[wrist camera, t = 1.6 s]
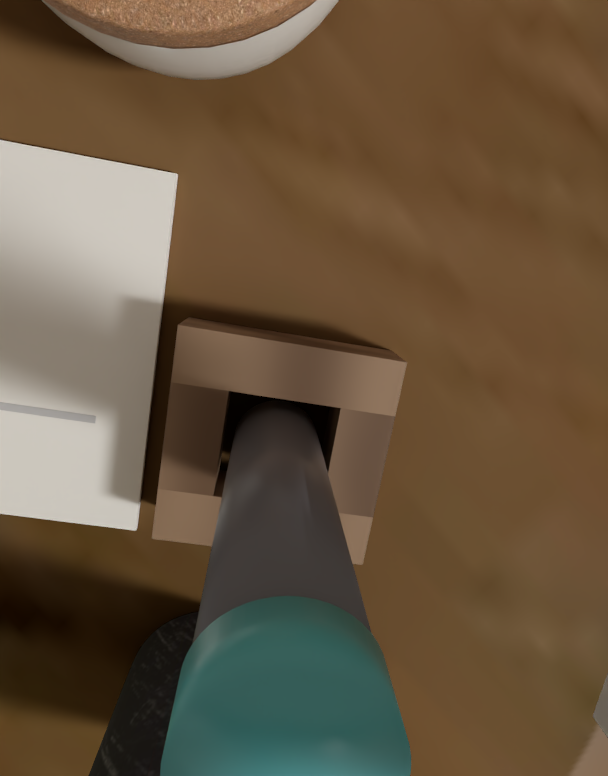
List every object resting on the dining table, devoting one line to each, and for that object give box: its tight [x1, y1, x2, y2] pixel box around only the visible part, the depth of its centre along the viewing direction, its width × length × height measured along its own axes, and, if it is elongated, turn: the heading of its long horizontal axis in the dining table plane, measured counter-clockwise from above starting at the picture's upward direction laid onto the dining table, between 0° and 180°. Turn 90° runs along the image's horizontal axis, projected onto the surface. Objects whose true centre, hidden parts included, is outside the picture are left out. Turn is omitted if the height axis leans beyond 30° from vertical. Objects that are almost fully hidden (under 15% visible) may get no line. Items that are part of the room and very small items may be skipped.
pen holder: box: [152, 317, 407, 565], centre depth 21 cm, size 8×8×2 cm
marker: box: [160, 401, 411, 776], centre depth 15 cm, size 3×3×15 cm
